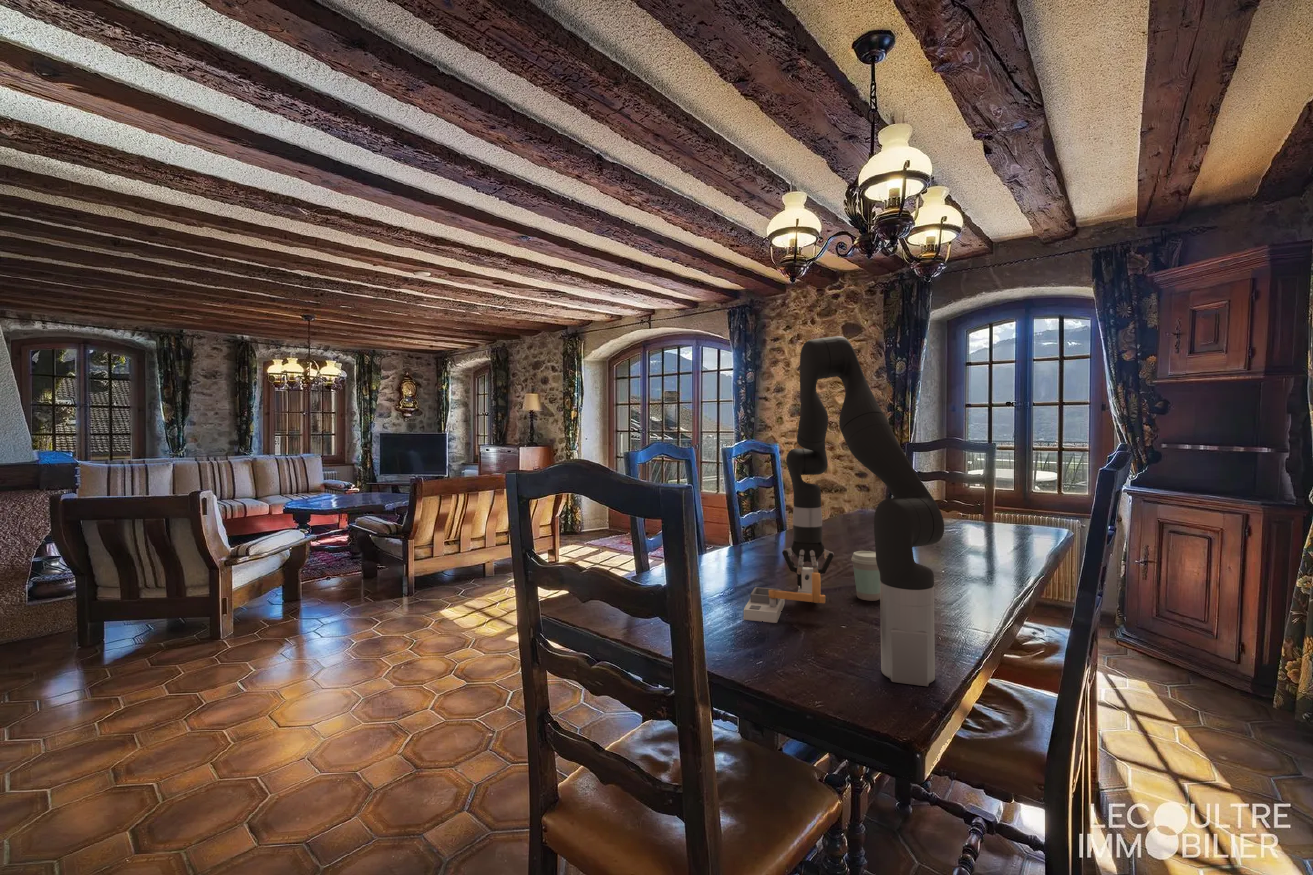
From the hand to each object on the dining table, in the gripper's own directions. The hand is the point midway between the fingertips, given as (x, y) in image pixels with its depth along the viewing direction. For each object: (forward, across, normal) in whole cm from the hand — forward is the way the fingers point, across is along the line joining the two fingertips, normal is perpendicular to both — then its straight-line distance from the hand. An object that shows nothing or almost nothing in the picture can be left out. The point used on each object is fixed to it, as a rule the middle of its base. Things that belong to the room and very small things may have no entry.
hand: (808, 587), depth 146 cm
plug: (+2, 0, 0) cm, 2 cm away
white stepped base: (+4, +10, +10) cm, 15 cm away
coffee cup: (+4, -15, -10) cm, 19 cm away
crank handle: (-1, +2, +13) cm, 13 cm away
